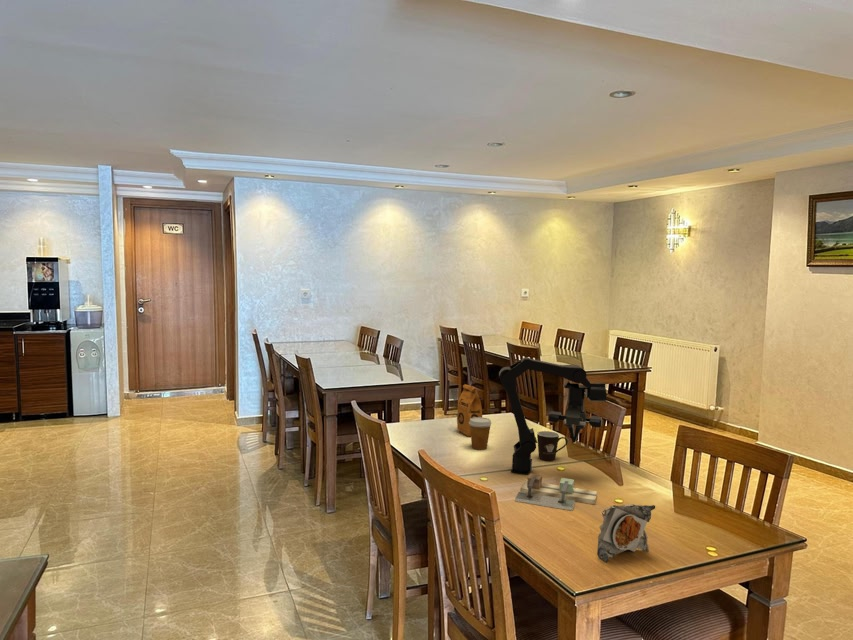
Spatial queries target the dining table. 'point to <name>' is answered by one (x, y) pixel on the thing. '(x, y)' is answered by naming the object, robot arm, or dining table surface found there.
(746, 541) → the dining table surface
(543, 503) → the bolt hole plate
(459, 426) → the coffee package
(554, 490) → the board
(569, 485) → the slider leg
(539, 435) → the coffee mug
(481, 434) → the disposable coffee cup
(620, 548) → the meal
